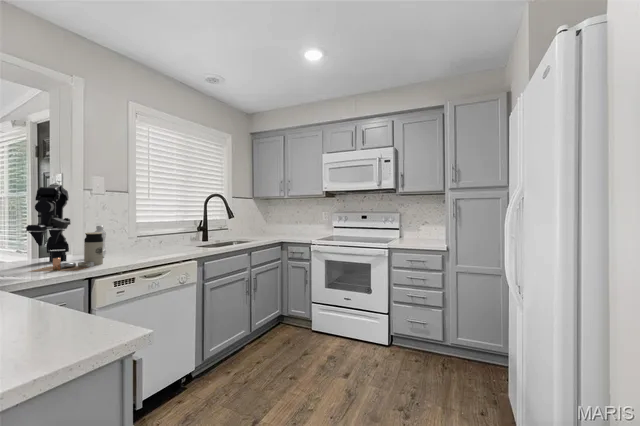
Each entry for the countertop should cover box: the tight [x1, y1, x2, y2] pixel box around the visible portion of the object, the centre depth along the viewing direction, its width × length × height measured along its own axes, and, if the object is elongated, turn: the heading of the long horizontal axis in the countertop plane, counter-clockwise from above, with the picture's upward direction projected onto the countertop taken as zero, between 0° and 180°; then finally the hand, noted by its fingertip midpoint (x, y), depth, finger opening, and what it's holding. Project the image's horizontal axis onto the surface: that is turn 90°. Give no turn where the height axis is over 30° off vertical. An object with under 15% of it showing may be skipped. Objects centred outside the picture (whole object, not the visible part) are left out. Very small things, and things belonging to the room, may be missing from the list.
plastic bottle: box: [94, 225, 107, 258], centre depth 193 cm, size 6×7×20 cm
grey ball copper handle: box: [52, 258, 77, 270], centre depth 148 cm, size 12×6×6 cm, turn 8°
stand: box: [27, 261, 95, 273], centre depth 148 cm, size 21×14×3 cm, turn 99°
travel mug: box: [83, 231, 104, 266], centre depth 161 cm, size 8×8×18 cm
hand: (47, 244), depth 148 cm, fingers open, 9 cm apart
